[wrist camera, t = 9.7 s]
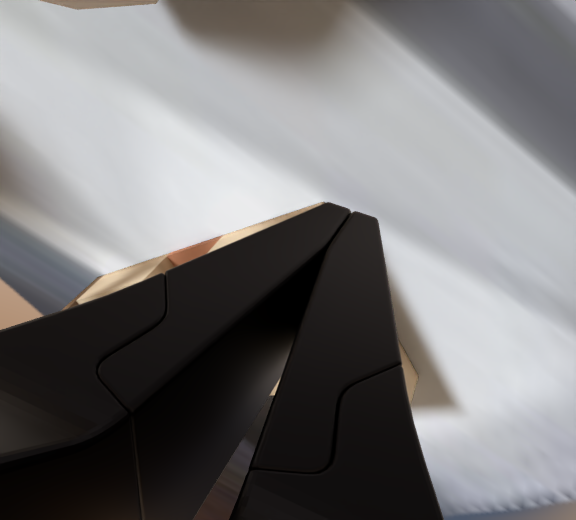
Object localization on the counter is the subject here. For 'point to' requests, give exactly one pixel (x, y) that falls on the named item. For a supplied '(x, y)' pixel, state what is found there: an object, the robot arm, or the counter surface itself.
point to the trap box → (176, 258)
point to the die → (98, 3)
